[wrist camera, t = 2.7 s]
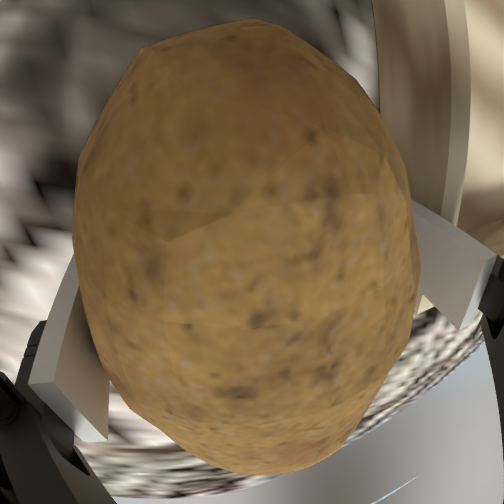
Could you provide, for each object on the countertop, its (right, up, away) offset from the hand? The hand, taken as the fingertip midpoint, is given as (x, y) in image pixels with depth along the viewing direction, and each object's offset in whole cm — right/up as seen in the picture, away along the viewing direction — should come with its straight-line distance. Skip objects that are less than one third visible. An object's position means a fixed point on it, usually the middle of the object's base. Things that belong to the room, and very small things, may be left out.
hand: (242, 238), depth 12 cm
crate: (+14, +9, 0) cm, 16 cm away
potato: (-1, 0, 0) cm, 1 cm away
